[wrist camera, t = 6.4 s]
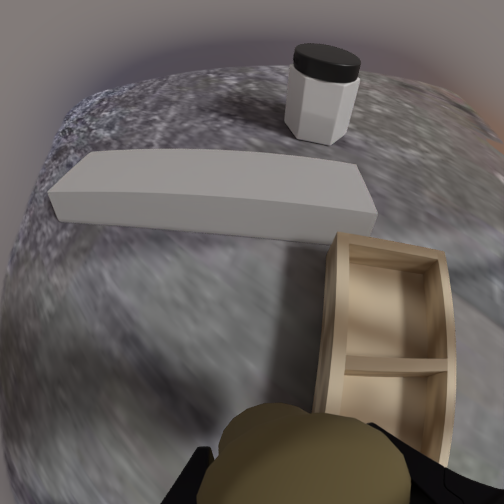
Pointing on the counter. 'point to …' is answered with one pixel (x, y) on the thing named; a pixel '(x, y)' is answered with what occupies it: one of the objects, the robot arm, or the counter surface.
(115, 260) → the counter surface
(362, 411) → the spice rack
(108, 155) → the decorative molding
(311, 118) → the jar
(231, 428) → the olive pepper mill
